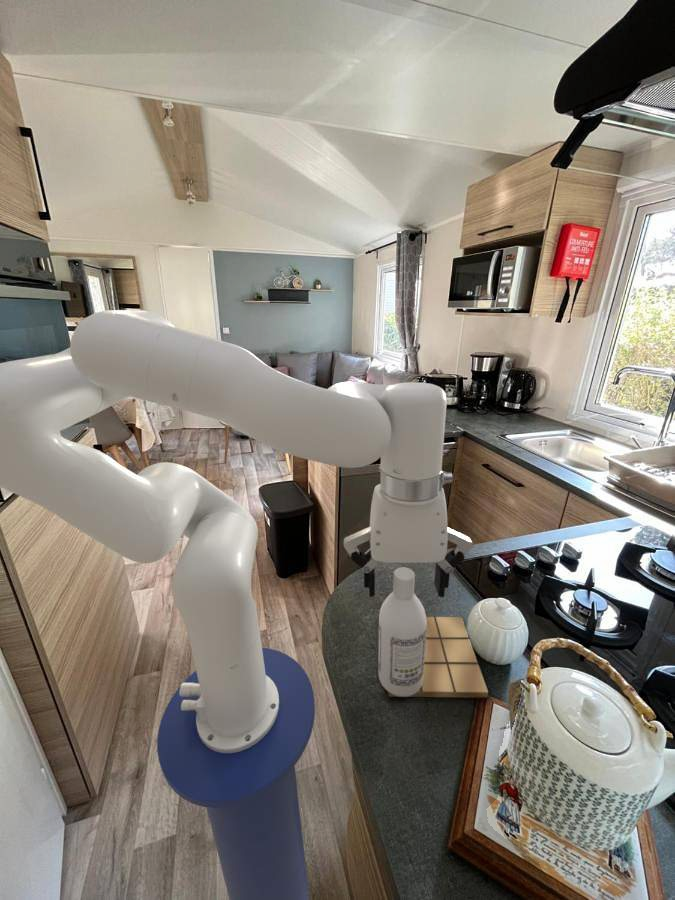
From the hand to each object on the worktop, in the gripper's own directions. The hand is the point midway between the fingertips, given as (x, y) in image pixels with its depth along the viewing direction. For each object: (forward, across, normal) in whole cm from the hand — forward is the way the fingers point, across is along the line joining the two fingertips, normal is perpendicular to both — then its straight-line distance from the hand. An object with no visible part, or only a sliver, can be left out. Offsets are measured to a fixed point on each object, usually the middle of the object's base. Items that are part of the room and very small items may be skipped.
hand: (405, 590), depth 54 cm
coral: (+18, -16, +10) cm, 26 cm away
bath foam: (+17, 0, 0) cm, 17 cm away
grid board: (+18, -5, -5) cm, 20 cm away
